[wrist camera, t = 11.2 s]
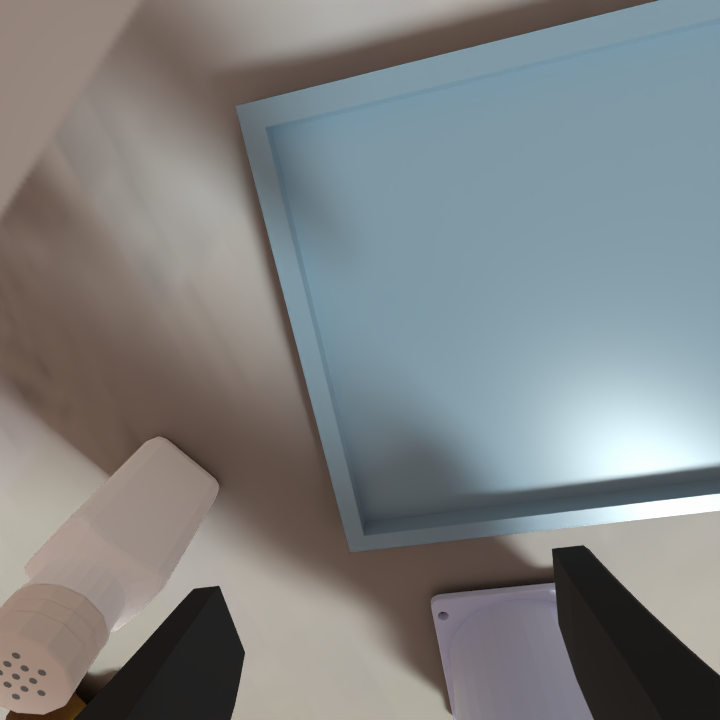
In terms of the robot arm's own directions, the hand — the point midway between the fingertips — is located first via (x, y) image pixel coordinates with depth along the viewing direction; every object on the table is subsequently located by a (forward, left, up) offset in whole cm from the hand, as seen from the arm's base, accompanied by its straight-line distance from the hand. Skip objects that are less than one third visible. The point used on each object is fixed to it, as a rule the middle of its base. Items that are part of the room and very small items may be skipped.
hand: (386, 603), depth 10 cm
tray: (+3, -6, -10) cm, 12 cm away
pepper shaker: (-2, +11, -11) cm, 15 cm away
